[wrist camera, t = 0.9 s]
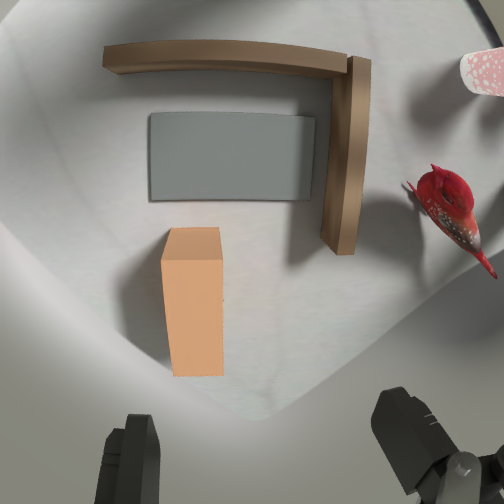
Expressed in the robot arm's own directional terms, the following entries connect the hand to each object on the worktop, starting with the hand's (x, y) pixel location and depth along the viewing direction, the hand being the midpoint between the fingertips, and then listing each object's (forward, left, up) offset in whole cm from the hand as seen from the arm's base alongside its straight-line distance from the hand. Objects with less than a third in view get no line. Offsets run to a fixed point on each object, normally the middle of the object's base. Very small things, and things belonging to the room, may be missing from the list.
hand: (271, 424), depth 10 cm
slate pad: (-7, 0, -19) cm, 20 cm away
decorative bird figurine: (-3, +20, -19) cm, 28 cm away
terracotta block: (+4, -3, -19) cm, 20 cm away
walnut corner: (-7, 0, -19) cm, 20 cm away
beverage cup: (-19, +25, -19) cm, 37 cm away
